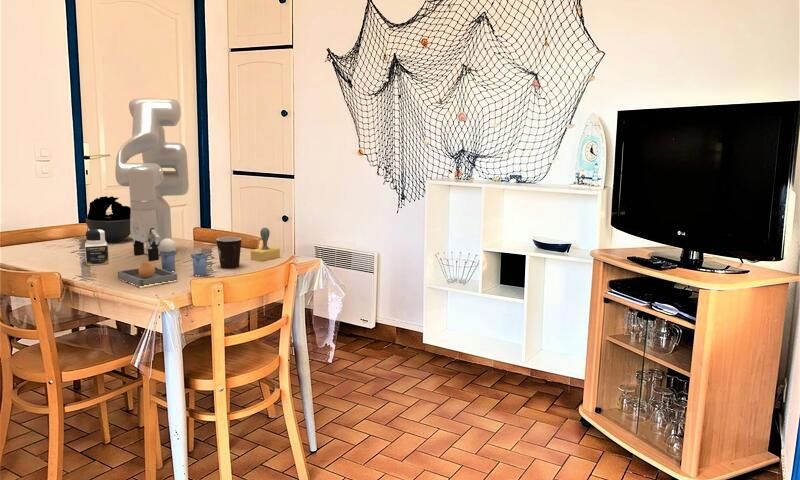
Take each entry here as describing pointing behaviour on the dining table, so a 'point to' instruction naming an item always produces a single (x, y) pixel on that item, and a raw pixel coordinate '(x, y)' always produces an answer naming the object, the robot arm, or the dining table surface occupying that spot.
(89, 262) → the medicine bottle
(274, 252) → the rubber stamp
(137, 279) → the tray
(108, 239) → the coal bowl
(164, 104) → the robot arm
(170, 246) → the ball
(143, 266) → the ball
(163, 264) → the cup
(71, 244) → the dining table surface
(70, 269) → the dining table surface
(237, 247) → the coffee mug
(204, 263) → the cup
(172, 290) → the dining table surface
